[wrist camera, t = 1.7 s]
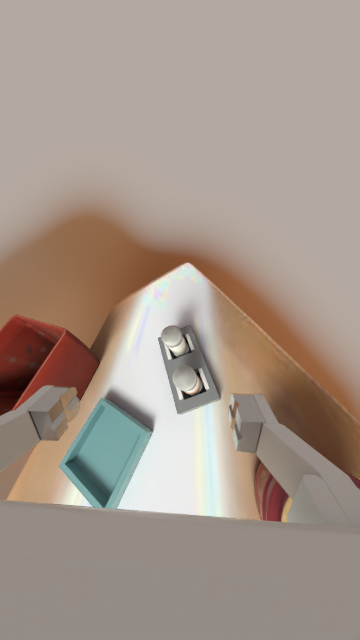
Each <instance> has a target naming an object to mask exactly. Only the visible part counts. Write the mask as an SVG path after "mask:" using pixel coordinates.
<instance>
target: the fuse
mask: <svg viewBox="0 0 360 640" xmlns="http://www.w3.org/2000/svg"><path fill="white" fill-rule="evenodd" d="M161 339H162V341H163V342H164V343H165V344H166V346H168V347H169V348H170V350H171V351H172V352H173V354H174V355H175V356H176V357H177V358H178V357H181V356H184V355H186V354H189V353H190V348H189V346H188V344H187V343H186V341H185V340H184V338H183V336H182V333H181V332H180V330H179V328H177V327H176V326H168V327H166V328H165V329H164V330H163V331H162V333H161Z"/></svg>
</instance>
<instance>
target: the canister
mask: <svg viewBox="0 0 360 640" xmlns="http://www.w3.org/2000/svg"><path fill="white" fill-rule="evenodd" d="M341 471H342V470H341ZM343 472H344V471H343ZM344 473H345V474H347V475H348V476H349V477H350V479H351V480H352V481H353V483H354V484H355V485H356V487H357V488H358V490H359V491H360V480H358V479H357V478H355V477H353V476H352V475H350V474H348V473H346V472H344ZM255 499H256V504H257V508H258V512H259V515H260V518H261V520H264V521H276V522H288V520H287V518H286V517H287V515H288V512H289V510H290V507H291V505H292V502H293V500H292V499H291V498H290V496H289V495H288V494H287V493H286V491H285V490H284V489H283V488H282V486H281V485H280V484H279V483H278V481H277V480H276V479H275V478H274V476H273V475H272V474H271V473H270V471H269V470H268V469H267V468H266V466H265V465H264V464H263V463H262V462H261V463H260V465H259V467H258V470H257V473H256V477H255Z"/></svg>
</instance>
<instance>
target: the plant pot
mask: <svg viewBox="0 0 360 640" xmlns="http://www.w3.org/2000/svg"><path fill="white" fill-rule="evenodd" d="M98 365H99V362H98V360H97V358H96V357H95V356H94V354H93V353H92V352H91V351H90V349H89V348H87V346H86V345H84V343H82V342H81V341H80V340H79V339H78V338H77V337H75V336H74V335H73V334H72V333H70V332H69V331H67V330H66V329H65V328H62V327H58V326H54V325H50V324H47V323H43V322H40V321H36V320H33V319H30V318H27V317H23V316H20V315H14V316H13V317H11V319H10V320H9V321H8V322H7V323H6V324H5V326H4V327H3V328H2V329H1V330H0V416H1V415H3V414H5V413H7V412H10V411H15V410H16V409H17V408H18V407H19V406H21V405H22V404H23V403H24V402H25V401H26V400H28V399H29V398H30V397H31V396H32V395H33V394H35V393H36V392H37V391H38V390H39V389H40V388H42V387H43V386H46V385H50V386H68V387H75V388H76V390H77V394H76V397H77V398H78V399H79V401H80V399H81V397H82V396H83V394H84V392H85V390H86V388H87V386H88V384H89V382H90V381H91V379H92V377H93V375H94V373H95V371H96V369H97V367H98Z"/></svg>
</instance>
